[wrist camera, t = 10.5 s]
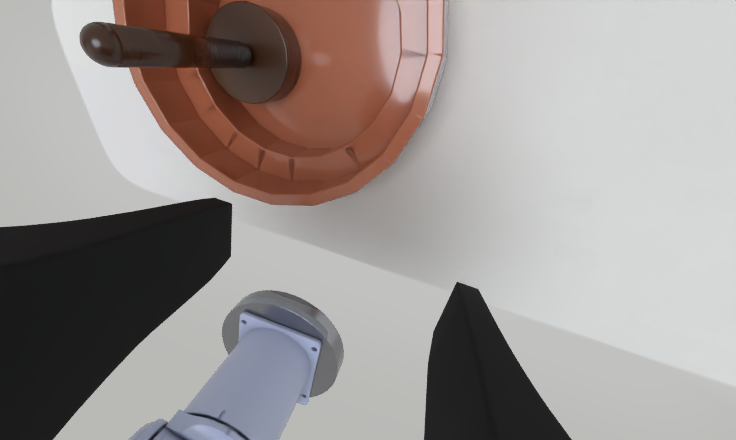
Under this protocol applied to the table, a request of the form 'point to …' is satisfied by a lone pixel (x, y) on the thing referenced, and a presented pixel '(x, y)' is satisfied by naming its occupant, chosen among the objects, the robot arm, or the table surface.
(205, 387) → the robot arm
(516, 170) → the table surface
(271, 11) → the disc with handle
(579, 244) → the table surface
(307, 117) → the bowl
